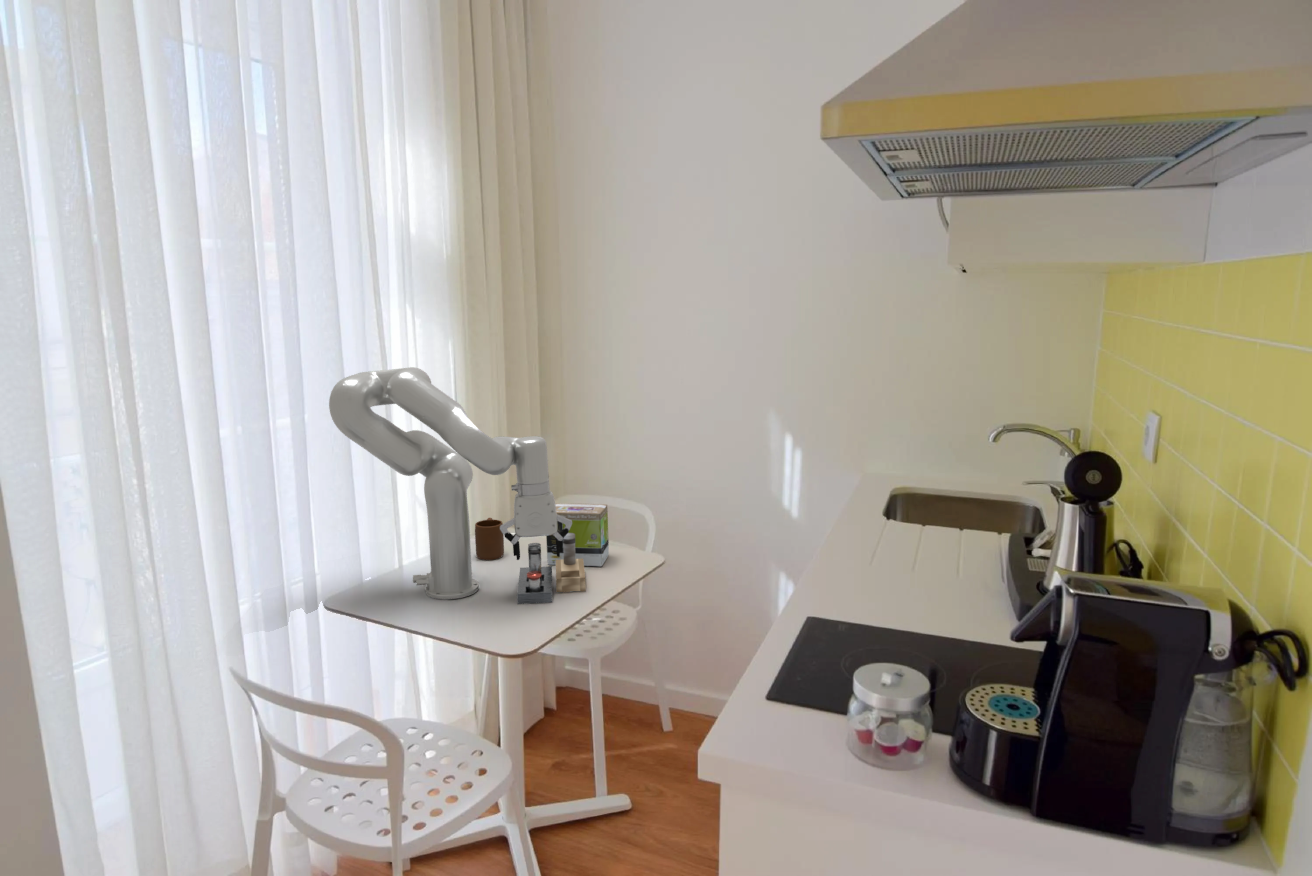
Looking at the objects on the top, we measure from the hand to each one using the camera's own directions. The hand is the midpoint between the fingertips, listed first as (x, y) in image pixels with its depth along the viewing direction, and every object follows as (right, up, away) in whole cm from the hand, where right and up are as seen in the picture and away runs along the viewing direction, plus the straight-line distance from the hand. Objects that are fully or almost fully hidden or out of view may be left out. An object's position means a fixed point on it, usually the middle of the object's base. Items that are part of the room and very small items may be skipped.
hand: (538, 556), depth 191 cm
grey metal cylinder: (-1, -8, +1) cm, 8 cm away
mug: (-17, -3, +27) cm, 32 cm away
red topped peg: (0, -8, -6) cm, 10 cm away
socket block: (-1, -8, 0) cm, 8 cm away
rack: (+7, -7, +5) cm, 11 cm away
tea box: (+8, -4, +21) cm, 23 cm away
